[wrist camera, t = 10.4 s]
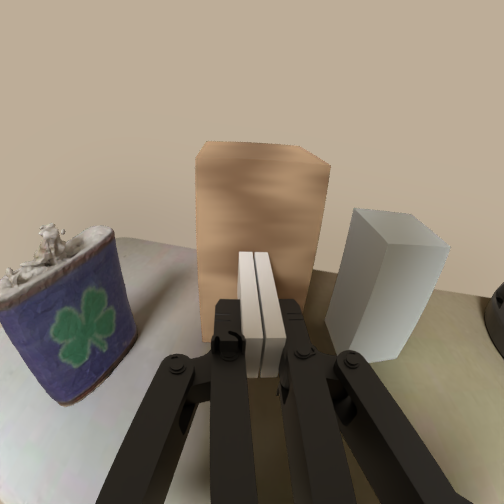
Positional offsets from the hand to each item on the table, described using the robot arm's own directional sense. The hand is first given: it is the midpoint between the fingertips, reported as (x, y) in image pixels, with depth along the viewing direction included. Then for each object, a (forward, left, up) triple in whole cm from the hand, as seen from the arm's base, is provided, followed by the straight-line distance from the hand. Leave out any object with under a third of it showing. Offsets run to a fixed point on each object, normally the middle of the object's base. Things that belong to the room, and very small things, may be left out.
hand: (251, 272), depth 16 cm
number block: (-9, 0, -6) cm, 11 cm away
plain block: (0, -4, -6) cm, 8 cm away
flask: (+11, +3, -7) cm, 13 cm away
